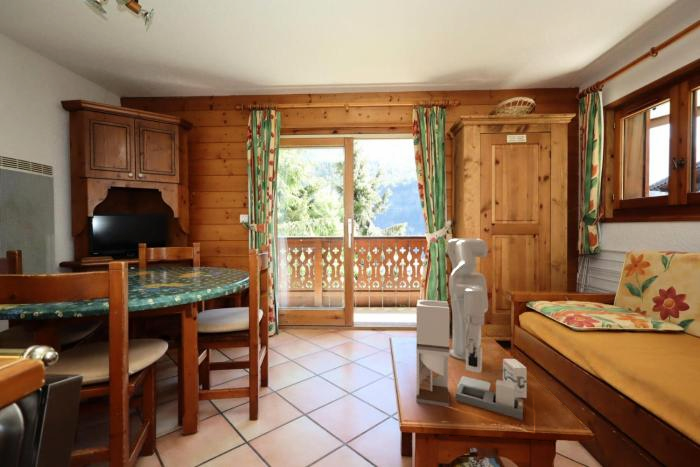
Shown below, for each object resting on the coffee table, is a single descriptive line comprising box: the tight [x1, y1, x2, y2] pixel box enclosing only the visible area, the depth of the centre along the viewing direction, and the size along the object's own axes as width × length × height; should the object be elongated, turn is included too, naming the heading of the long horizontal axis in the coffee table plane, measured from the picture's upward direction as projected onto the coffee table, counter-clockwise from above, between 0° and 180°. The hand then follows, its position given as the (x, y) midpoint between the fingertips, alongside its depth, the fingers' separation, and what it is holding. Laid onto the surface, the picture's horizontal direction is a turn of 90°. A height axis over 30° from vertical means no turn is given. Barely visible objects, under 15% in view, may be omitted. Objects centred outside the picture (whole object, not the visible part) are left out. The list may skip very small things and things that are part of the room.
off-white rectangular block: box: [495, 379, 516, 408], centre depth 100 cm, size 4×6×9 cm
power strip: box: [455, 384, 524, 421], centre depth 103 cm, size 8×21×4 cm, turn 58°
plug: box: [465, 346, 483, 374], centre depth 116 cm, size 4×6×9 cm
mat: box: [456, 375, 491, 391], centre depth 116 cm, size 11×11×1 cm
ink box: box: [502, 358, 528, 399], centre depth 111 cm, size 9×5×12 cm, turn 0°
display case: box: [415, 299, 450, 408], centre depth 109 cm, size 11×11×35 cm
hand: (473, 363), depth 116 cm, fingers closed on plug, 4 cm apart
